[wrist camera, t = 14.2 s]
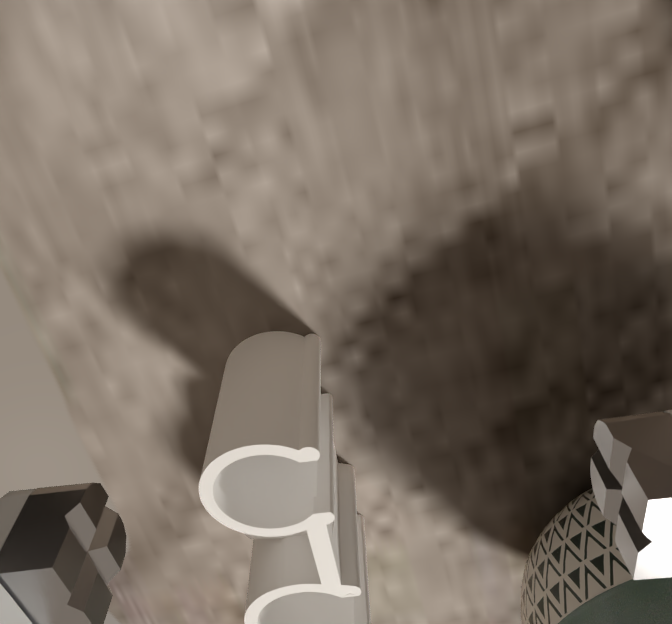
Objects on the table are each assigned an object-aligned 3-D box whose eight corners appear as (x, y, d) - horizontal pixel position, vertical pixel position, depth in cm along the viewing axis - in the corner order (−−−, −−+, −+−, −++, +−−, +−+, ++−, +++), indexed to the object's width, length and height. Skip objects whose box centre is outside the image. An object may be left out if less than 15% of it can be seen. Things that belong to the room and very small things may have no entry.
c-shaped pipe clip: (204, 339, 47) (170, 455, 37) (327, 323, 46) (327, 436, 36) (271, 537, 60) (259, 662, 50) (366, 527, 60) (374, 651, 49)
